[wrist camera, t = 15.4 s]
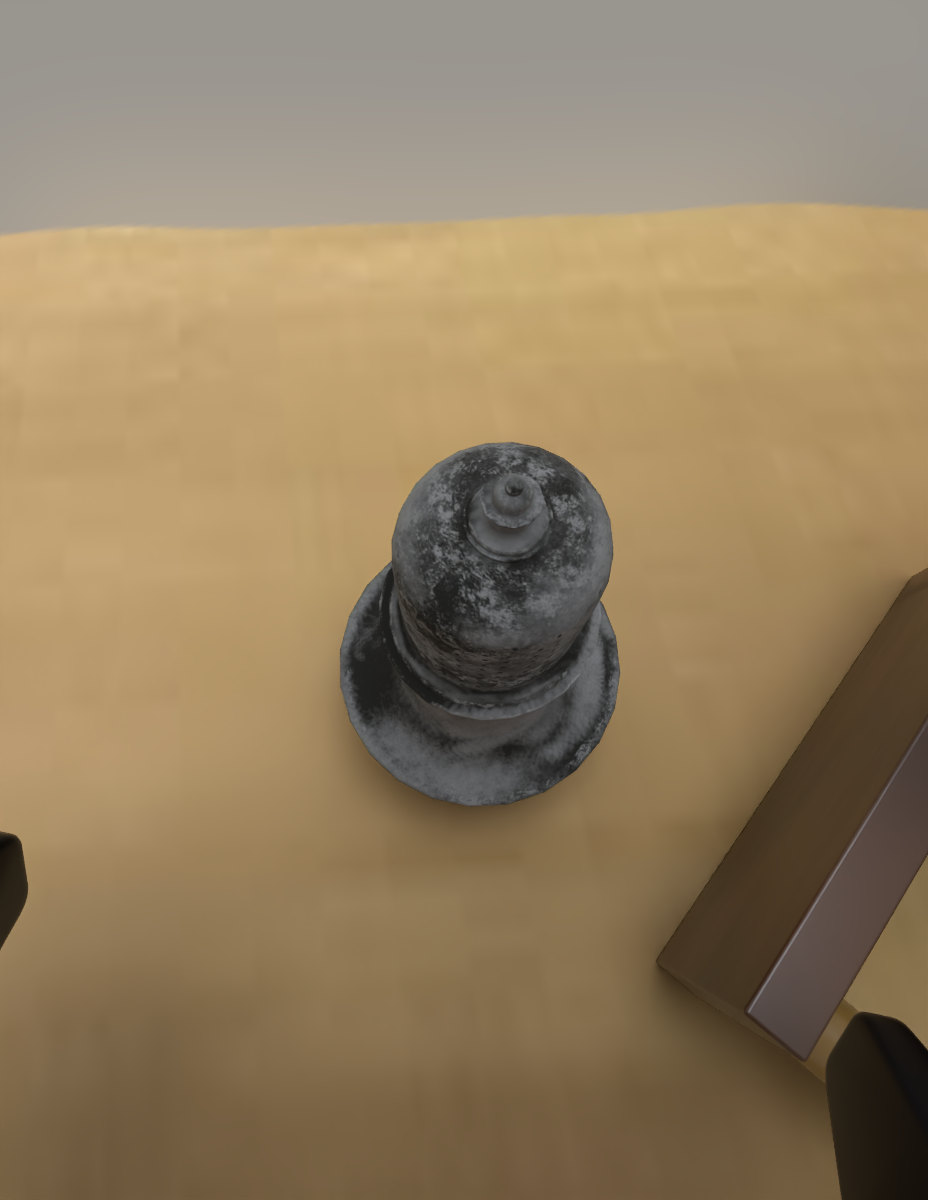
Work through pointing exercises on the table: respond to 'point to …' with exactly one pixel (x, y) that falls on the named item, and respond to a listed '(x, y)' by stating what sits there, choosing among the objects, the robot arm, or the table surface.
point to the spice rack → (822, 854)
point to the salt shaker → (487, 630)
